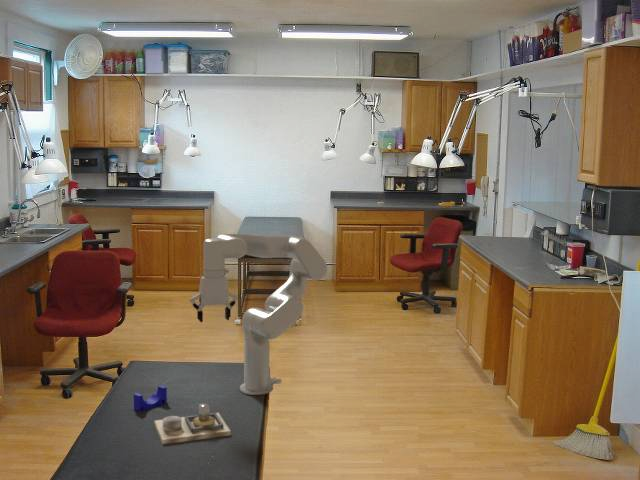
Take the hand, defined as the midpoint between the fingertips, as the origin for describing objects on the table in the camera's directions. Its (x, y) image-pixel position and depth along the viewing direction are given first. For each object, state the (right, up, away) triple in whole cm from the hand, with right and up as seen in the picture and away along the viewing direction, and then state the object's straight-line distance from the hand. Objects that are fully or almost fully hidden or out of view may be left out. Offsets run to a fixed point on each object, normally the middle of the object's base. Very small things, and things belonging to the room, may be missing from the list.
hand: (214, 320), depth 271 cm
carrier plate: (-4, -34, -21) cm, 40 cm away
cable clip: (-23, -31, -1) cm, 38 cm away
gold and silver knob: (-1, -32, -20) cm, 38 cm away
